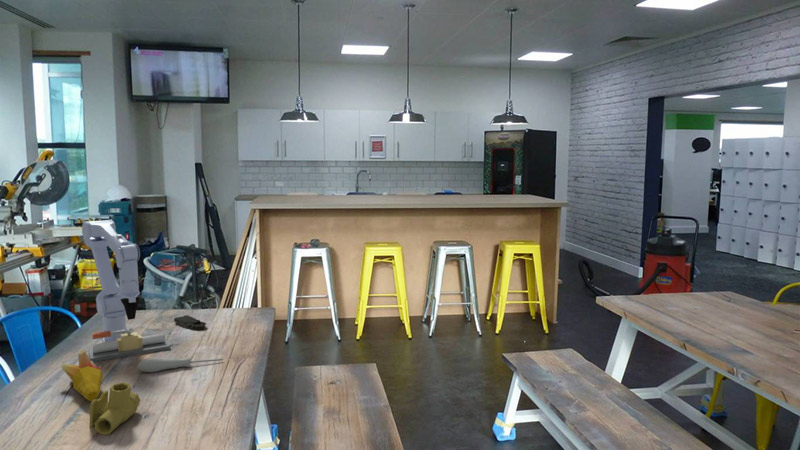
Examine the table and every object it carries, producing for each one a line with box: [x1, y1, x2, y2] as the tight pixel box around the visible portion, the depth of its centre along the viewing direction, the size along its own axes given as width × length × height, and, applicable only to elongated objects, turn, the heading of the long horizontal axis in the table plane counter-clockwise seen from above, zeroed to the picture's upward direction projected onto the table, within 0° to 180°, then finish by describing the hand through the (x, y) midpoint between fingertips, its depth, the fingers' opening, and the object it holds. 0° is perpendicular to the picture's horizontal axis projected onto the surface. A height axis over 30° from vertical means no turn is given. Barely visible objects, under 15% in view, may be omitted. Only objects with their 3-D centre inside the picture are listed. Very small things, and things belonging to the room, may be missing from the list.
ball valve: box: [89, 382, 141, 436], centre depth 135 cm, size 13×10×10 cm
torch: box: [60, 347, 104, 402], centre depth 154 cm, size 8×8×25 cm
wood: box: [173, 314, 207, 331], centre depth 216 cm, size 22×8×3 cm, turn 45°
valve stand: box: [88, 331, 171, 363], centre depth 186 cm, size 10×24×6 cm, turn 122°
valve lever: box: [91, 327, 134, 340], centre depth 183 cm, size 12×3×2 cm, turn 123°
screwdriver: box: [137, 356, 224, 373], centre depth 172 cm, size 5×25×4 cm, turn 112°
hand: (131, 318), depth 188 cm, fingers closed
